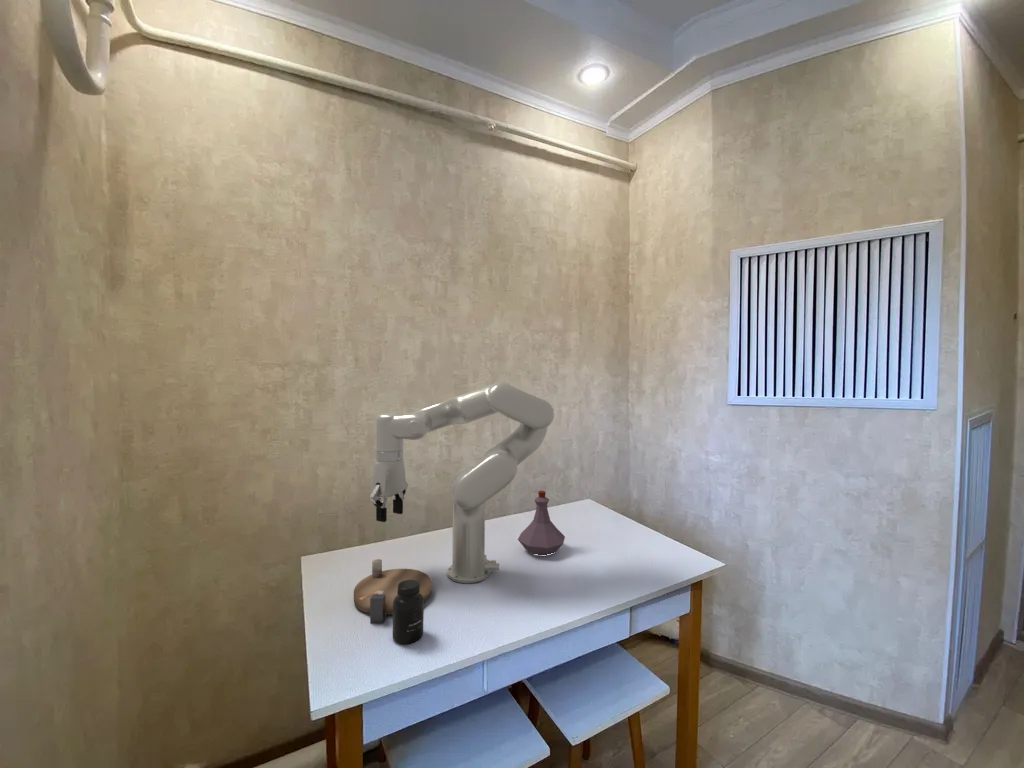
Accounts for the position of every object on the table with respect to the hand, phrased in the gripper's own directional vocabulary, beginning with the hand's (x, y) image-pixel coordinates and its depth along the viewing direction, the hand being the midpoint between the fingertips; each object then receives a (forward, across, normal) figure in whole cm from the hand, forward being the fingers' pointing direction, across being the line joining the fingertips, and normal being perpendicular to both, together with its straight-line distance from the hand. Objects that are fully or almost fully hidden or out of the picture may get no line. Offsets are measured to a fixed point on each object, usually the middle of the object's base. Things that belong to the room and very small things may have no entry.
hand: (389, 516), depth 124 cm
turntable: (+18, +8, +8) cm, 21 cm away
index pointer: (+18, +19, +12) cm, 29 cm away
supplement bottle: (+18, +21, +22) cm, 36 cm away
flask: (+18, -35, +35) cm, 53 cm away
